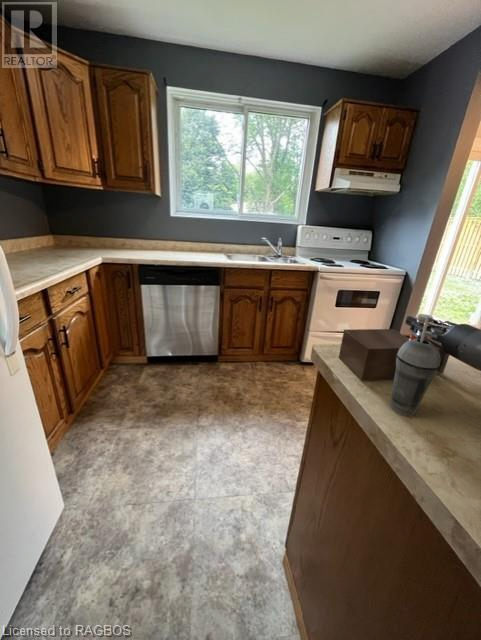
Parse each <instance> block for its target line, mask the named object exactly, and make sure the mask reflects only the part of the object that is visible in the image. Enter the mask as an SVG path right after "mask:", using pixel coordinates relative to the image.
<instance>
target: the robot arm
mask: <svg viewBox="0 0 481 640" xmlns="http://www.w3.org/2000/svg"><path fill="white" fill-rule="evenodd" d="M432 320H433V321H434V323H432V322H428V324H427V328H426V332H425V336H424V337H428V338H431V339H432V340H434V341H435V342H438V343H441V345H442V348H443V350H444V351H445V352H446V353H447V354H449V357H452V358H454V359H456V360H458V361H460V362H462V363H463V364H465V365H467V366H469V367H471V368H473V369H474V370H477V371H480V372H481V328H479V327H475V326H473V325H471V324H468V323H459V324H458V323H455V322H452V321H450V320H444V321H442V320H441V319H435V318H433V319H432ZM424 324H425V322H423V321H420V320H418V319H416V317H413V316H411V315H407V316H406V318H405V325H407V326H409V327H410V328H409V329H408V330H409V332H410V334H411V333H412V334H413V335H415V336H416V337H417V338H418V339H421V336H422V332H423V328H424V327H423V326H421V325H424ZM430 326H432V327H431V328H430ZM429 330H430V331H429Z"/></svg>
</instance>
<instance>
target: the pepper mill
mask: <svg viewBox="0 0 481 640" xmlns="http://www.w3.org/2000/svg"><path fill="white" fill-rule="evenodd" d="M426 316H428V317H429V320H428V322H432V323H434V321H433V320H432V319H434V316H432V315H430V314H427V313H418V314H417V317H416V316H415V318H416V319H418V320H420V321H423V322H425V320H426ZM421 326H423V327H424V325H421ZM431 327H432V326H430V328H431ZM429 331H430V330H429ZM409 339H411V340H414V339H418V338H417V337H416V336H415V335H413V334H412V333H411V332H410V338H409ZM424 340H426V341H428V337H424Z"/></svg>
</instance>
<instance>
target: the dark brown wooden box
mask: <svg viewBox="0 0 481 640" xmlns="http://www.w3.org/2000/svg"><path fill="white" fill-rule="evenodd" d="M410 340H411V339H409V338H407V337H406V336H404V335H402V333H401V332H399V331H397V330H395V329H394V328H374V329H373V328H371V329H370V328H367V329H366V328H365V329H364V328H363V329H362V328H361V329H359V328H358V329H343V333H342V339H341V343H340V349H339V354H338V359H339V360H340V361H341V362H342V363H343V364H344V365H345V366H346V367H347V368H348V369H349V370H350V371H351V372H352V374H354V375H355V376H356V377H357V378H358V380H360V381H362V382H363V381H385V380H387V381H389V380H394V377H395V371H396V358H397V357H396V354H397V353H398V351H399V349H400V348H401V346H402V345H403V344H404V343H406V342H408V341H410Z"/></svg>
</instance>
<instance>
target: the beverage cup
mask: <svg viewBox="0 0 481 640" xmlns="http://www.w3.org/2000/svg"><path fill="white" fill-rule="evenodd" d="M428 320H429V317H428V316H426V320H425V324H424V328H423V332H422V336H421V339H414V340H410V341H408V342H406V343H404V344H403V345H402V346H401V348H400V349H399V351H398V353H397V354H396V357H397V358H396V371H395V377H394V379H393V383H392V388H391V389H392V390H391V395H390V404H389V407H390V409H391V411H393V412H394V413H396V414H397V415H400V416H403V417H407V418H408V417H409V418H410V417H413V416H415V415H416V412H417V411H418V409H419V408H420V405H421V402H422V400H423V399H424V396H425V394H426V392H427V390H428V388H429V386H430V383H431V381H432V379H433V378H434V377H435V376H436V374H437V373H438V372H437V370H438V369H439V368H440V361H441V357H440V353H439V351H438V349H437V348H436V347H435V346H434V345H433V344H432V343H430V342H428V341H426V340H424V336H425V332H426V328H427V324H428Z"/></svg>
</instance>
